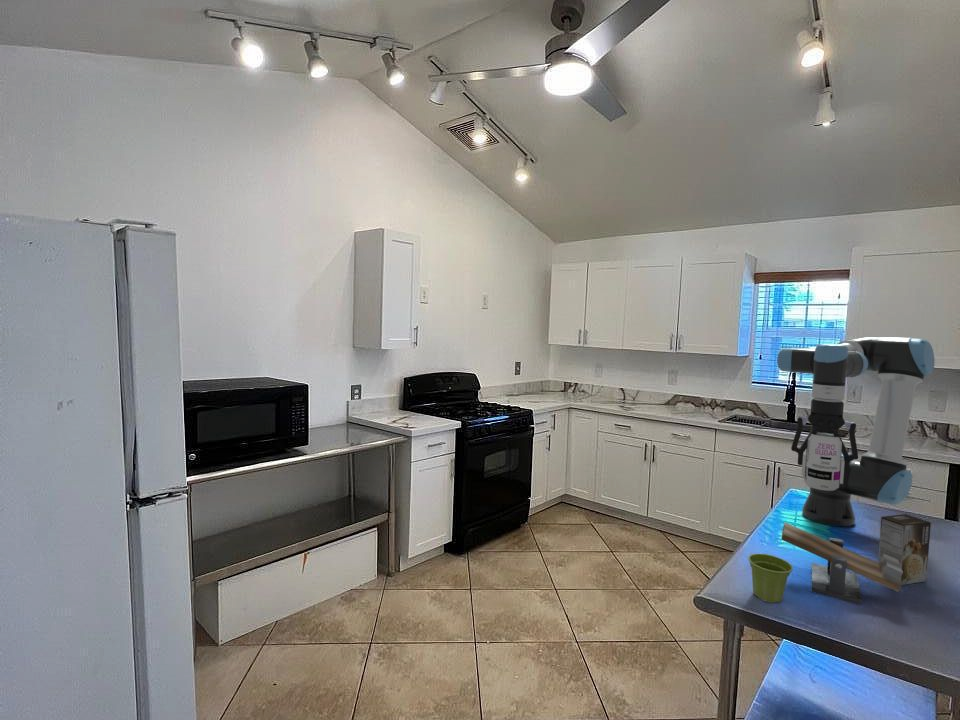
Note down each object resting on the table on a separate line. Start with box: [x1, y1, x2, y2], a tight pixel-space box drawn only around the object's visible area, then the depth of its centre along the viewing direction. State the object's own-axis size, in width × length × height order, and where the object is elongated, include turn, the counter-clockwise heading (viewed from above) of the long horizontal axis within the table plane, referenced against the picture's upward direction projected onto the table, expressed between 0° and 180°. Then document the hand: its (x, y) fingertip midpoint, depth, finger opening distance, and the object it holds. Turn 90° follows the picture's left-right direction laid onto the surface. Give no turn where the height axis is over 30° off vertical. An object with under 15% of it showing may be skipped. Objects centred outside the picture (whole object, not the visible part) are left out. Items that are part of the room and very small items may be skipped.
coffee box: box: [877, 513, 932, 586], centre depth 134 cm, size 9×6×16 cm
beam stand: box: [810, 537, 863, 606], centre depth 130 cm, size 17×10×10 cm, turn 147°
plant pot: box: [747, 553, 794, 604], centre depth 124 cm, size 9×9×9 cm
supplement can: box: [803, 432, 842, 491], centre depth 143 cm, size 8×8×15 cm
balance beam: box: [781, 522, 903, 593], centre depth 130 cm, size 10×25×4 cm, turn 57°
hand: (821, 479), depth 144 cm, fingers closed on supplement can, 8 cm apart
